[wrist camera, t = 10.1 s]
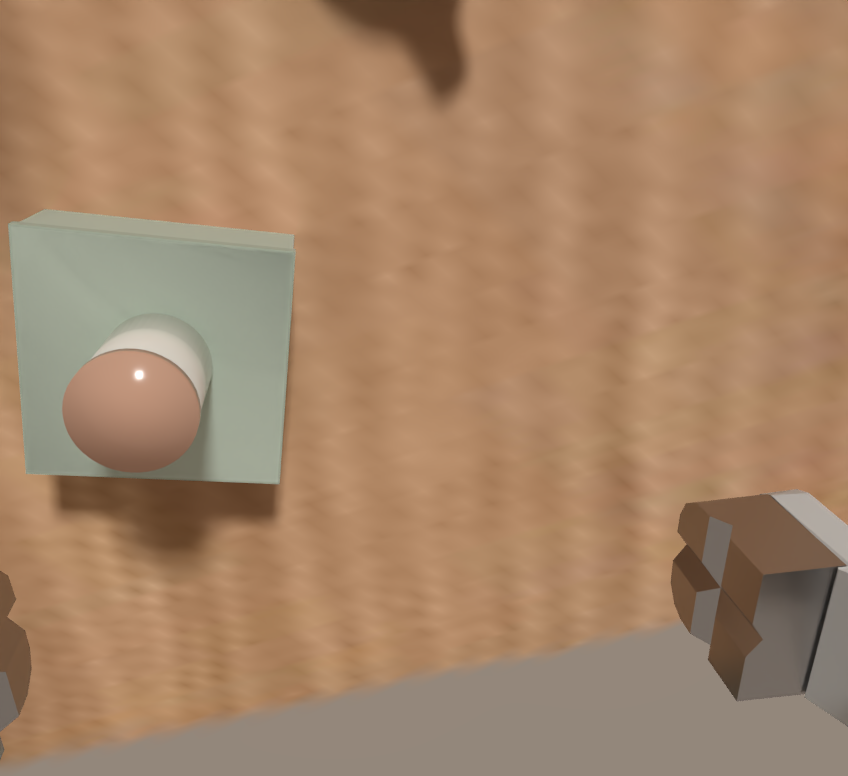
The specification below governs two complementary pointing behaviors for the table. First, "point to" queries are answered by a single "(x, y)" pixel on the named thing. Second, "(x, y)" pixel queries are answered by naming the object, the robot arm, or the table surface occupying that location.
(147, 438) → the pink capped tube
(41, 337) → the sage box
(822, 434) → the table surface
